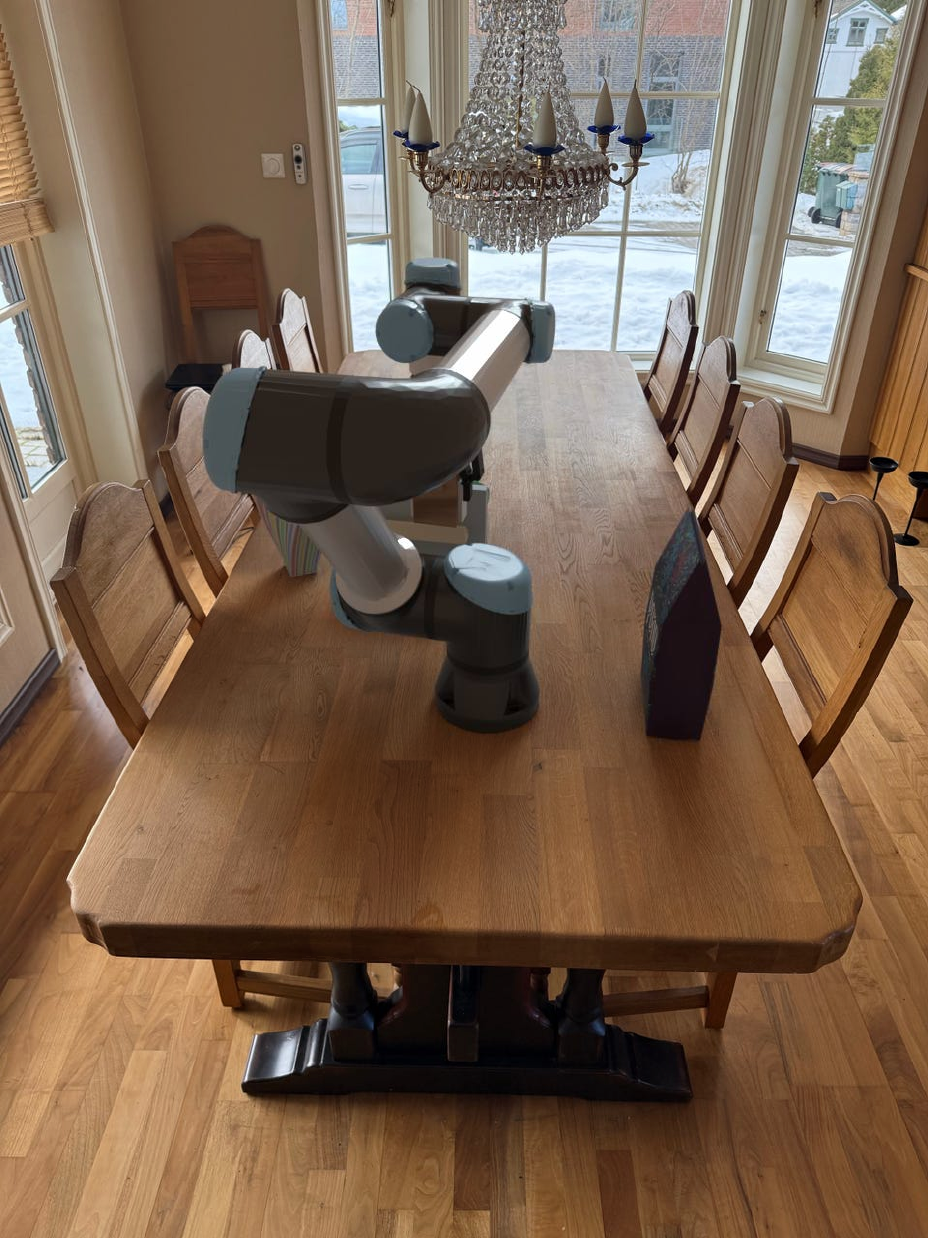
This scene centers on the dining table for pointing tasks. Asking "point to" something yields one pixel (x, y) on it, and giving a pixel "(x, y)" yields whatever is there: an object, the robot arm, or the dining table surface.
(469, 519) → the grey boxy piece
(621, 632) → the dining table surface
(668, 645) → the decorative box
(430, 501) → the brown block
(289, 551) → the vase
